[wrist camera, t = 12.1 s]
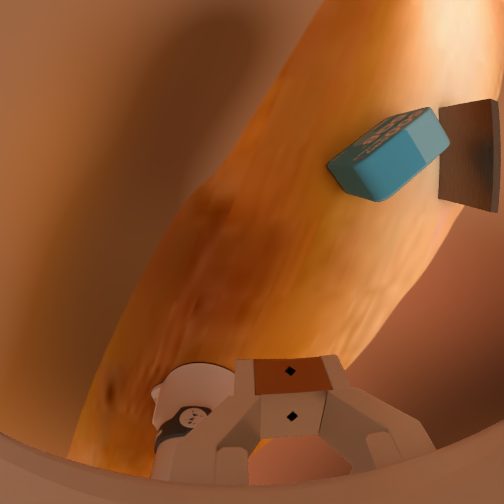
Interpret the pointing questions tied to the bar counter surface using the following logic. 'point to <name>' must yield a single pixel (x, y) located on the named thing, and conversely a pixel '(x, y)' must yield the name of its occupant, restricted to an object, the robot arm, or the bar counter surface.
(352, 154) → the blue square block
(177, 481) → the robot arm
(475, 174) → the bookend
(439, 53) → the bar counter surface
